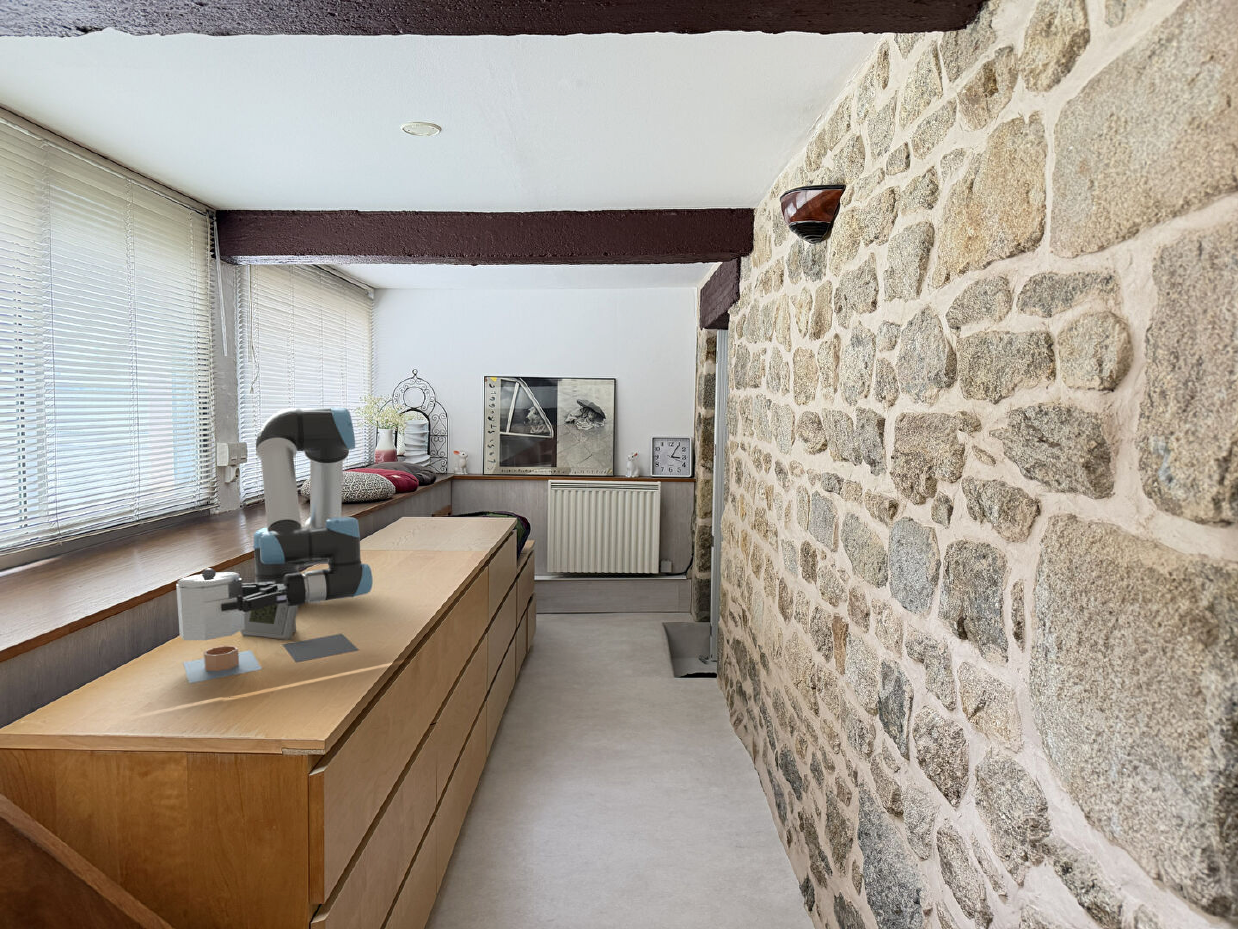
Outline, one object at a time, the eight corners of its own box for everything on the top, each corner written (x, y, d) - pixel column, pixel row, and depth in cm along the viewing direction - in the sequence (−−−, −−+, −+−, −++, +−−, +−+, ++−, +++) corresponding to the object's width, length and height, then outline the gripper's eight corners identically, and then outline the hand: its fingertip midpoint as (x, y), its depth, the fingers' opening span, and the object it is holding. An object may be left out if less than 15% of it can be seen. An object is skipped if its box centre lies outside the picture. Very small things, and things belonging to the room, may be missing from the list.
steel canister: (176, 631, 167) (172, 568, 166) (235, 620, 175) (232, 560, 174) (186, 644, 158) (182, 577, 157) (248, 632, 165) (244, 568, 164)
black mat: (282, 646, 182) (282, 644, 182) (341, 635, 190) (341, 633, 190) (296, 665, 169) (295, 662, 169) (359, 652, 177) (359, 650, 177)
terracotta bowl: (203, 664, 169) (202, 649, 169) (236, 658, 173) (235, 643, 172) (206, 673, 163) (205, 657, 163) (240, 666, 167) (239, 651, 167)
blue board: (183, 665, 171) (183, 662, 171) (250, 652, 179) (250, 650, 178) (189, 686, 158) (189, 683, 157) (262, 671, 165) (262, 669, 165)
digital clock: (237, 636, 192) (234, 595, 191) (269, 627, 200) (267, 588, 199) (275, 646, 183) (272, 603, 183) (307, 636, 191) (305, 595, 190)
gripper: (316, 614, 167) (207, 632, 155) (293, 593, 187) (195, 608, 175) (314, 581, 166) (204, 597, 154) (292, 564, 186) (193, 576, 174)
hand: (199, 603), depth 165 cm, fingers closed on steel canister, 12 cm apart
